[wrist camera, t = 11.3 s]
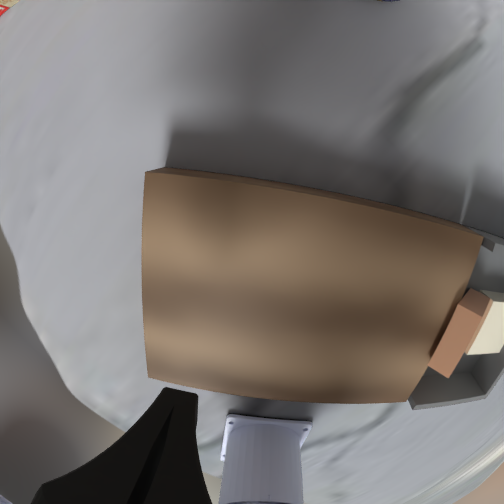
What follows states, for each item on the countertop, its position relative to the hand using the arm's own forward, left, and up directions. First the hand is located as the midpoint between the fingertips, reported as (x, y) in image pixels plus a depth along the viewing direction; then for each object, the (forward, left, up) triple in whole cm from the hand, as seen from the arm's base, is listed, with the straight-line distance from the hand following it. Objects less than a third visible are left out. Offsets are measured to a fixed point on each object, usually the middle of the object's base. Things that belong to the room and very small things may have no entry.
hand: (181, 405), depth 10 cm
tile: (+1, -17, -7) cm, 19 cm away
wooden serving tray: (+1, -6, -9) cm, 11 cm away
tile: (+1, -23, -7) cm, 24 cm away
